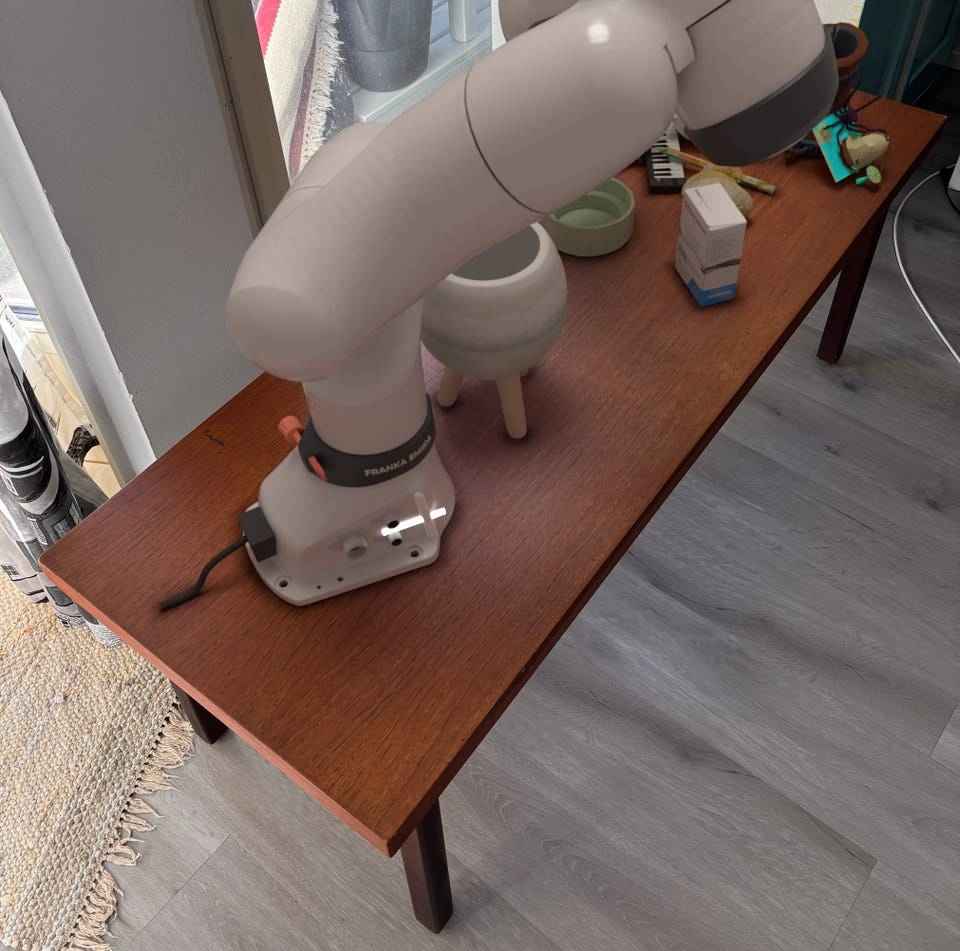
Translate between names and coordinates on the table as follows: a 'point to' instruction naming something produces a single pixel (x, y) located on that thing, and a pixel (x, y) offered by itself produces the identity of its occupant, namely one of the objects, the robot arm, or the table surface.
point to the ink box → (710, 243)
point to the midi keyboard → (664, 165)
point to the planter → (498, 318)
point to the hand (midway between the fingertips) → (591, 142)
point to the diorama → (851, 142)
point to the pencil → (701, 163)
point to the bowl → (594, 221)
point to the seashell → (723, 184)
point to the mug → (848, 56)
